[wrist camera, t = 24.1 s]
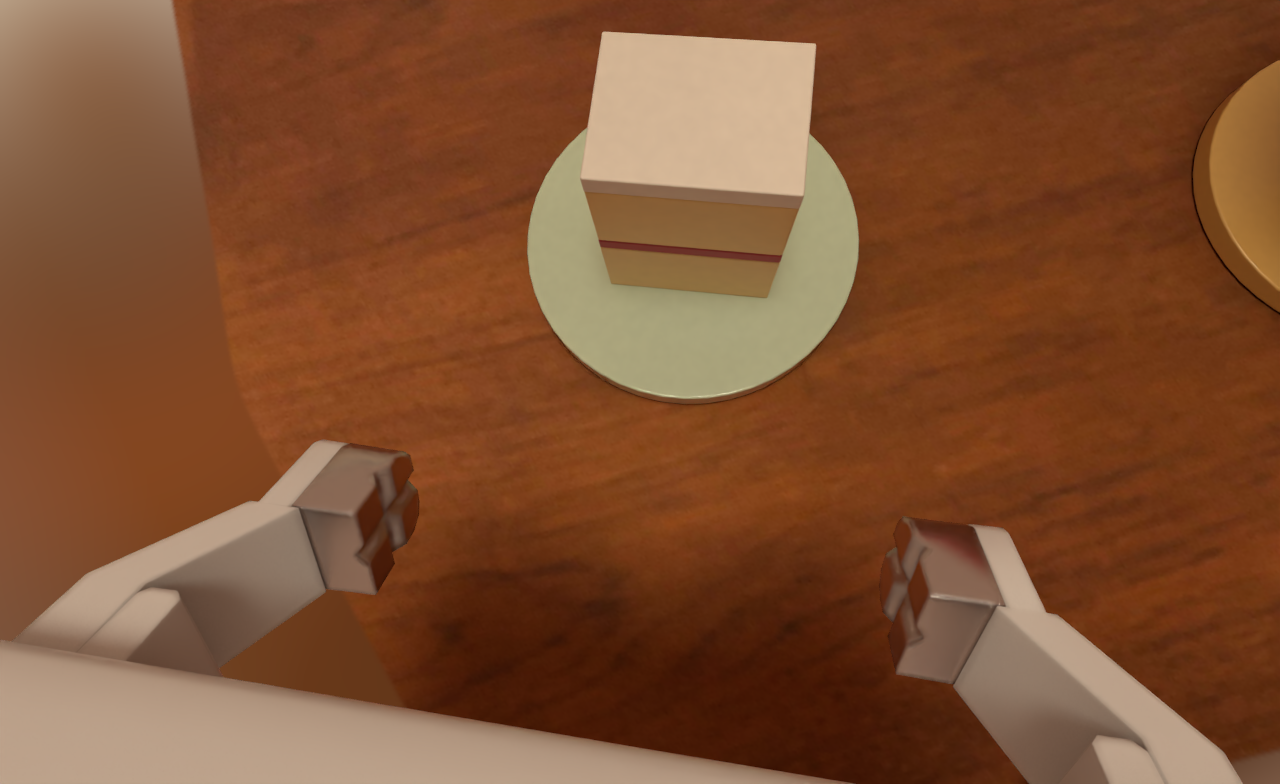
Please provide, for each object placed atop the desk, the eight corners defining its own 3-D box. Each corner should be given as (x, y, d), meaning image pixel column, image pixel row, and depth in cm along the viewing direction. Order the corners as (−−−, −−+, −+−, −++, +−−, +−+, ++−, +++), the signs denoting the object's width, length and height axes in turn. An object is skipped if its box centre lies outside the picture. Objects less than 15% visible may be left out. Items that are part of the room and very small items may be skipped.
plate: (804, 446, 26) (809, 443, 25) (488, 350, 28) (480, 343, 27) (886, 148, 29) (895, 132, 28) (591, 76, 30) (587, 59, 29)
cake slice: (767, 298, 26) (804, 196, 18) (610, 284, 27) (579, 178, 19) (777, 187, 27) (816, 42, 19) (625, 175, 28) (602, 30, 20)
